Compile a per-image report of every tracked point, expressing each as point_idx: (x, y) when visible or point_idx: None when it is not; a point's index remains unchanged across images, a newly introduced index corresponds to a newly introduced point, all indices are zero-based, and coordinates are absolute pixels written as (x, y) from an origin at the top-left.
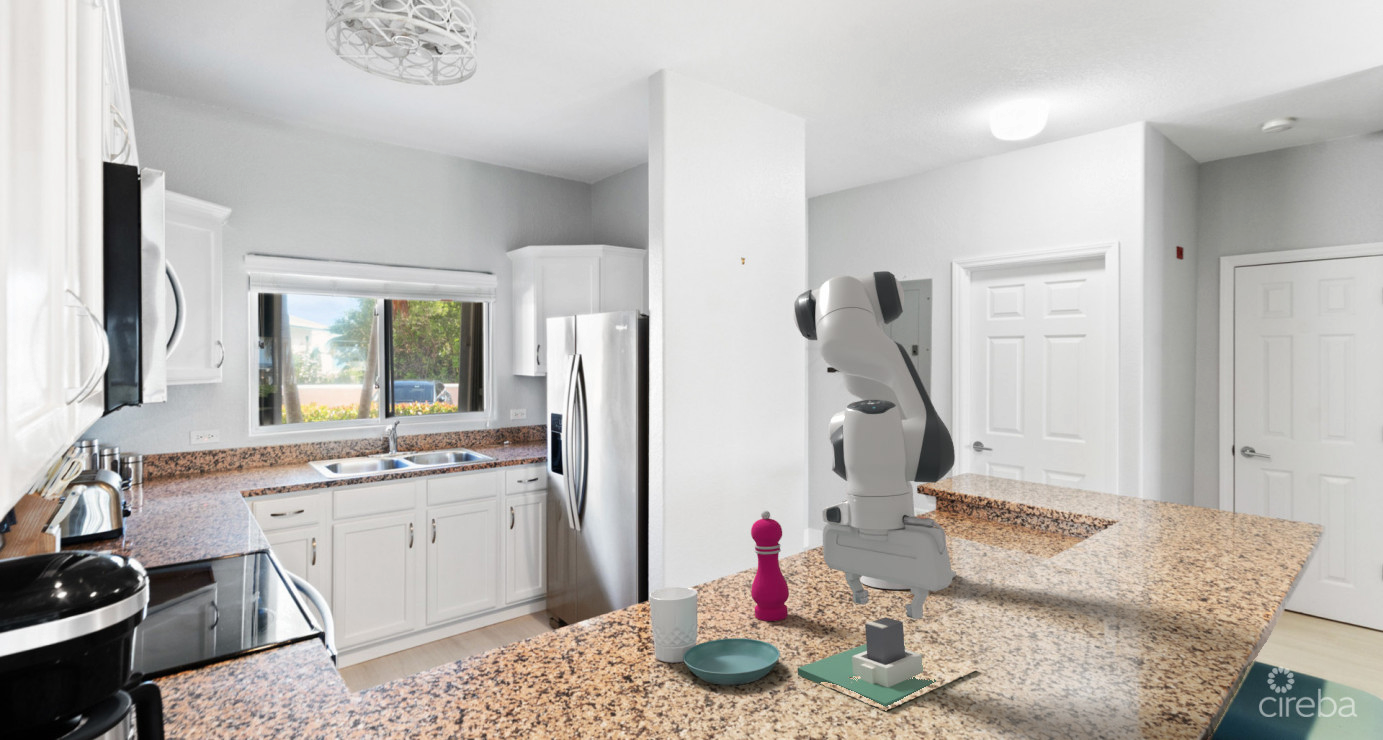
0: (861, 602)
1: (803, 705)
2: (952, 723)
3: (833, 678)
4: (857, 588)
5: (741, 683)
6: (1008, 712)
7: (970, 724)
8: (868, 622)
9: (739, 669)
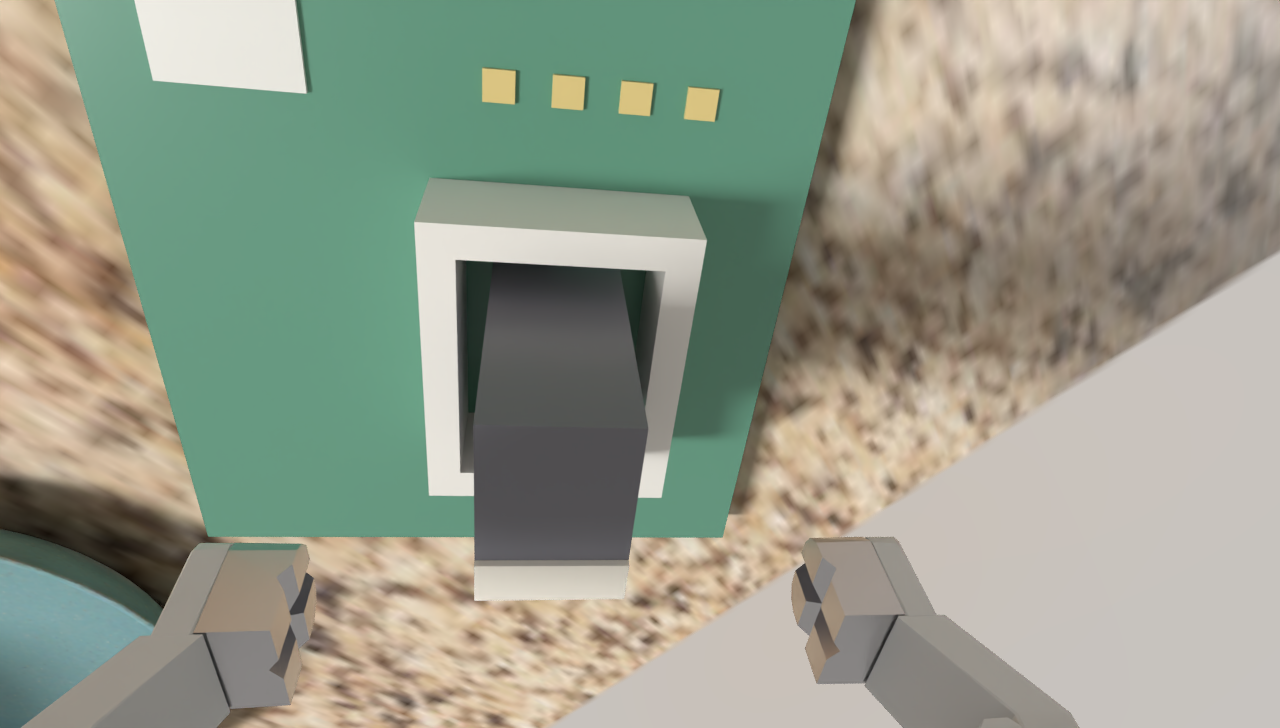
0: (312, 619)
1: (475, 636)
2: (942, 439)
3: (416, 512)
4: (196, 709)
5: None
6: (1120, 233)
7: (999, 408)
8: (485, 588)
9: (28, 631)
